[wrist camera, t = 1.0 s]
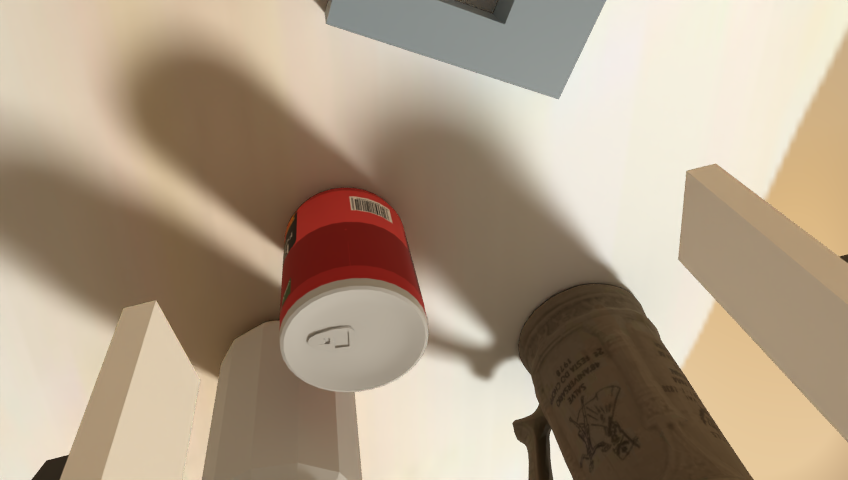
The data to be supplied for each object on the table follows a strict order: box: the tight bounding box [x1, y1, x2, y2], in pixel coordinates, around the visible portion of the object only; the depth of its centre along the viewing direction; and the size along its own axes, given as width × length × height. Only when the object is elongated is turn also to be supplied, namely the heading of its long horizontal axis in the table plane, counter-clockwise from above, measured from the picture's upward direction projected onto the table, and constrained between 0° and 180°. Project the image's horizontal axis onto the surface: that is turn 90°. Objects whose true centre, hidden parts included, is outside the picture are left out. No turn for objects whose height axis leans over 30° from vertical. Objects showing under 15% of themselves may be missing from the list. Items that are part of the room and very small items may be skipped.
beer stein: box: [513, 284, 753, 480], centre depth 43 cm, size 15×11×20 cm
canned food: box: [279, 188, 429, 392], centre depth 36 cm, size 8×8×11 cm
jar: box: [202, 320, 362, 480], centre depth 39 cm, size 10×10×18 cm
